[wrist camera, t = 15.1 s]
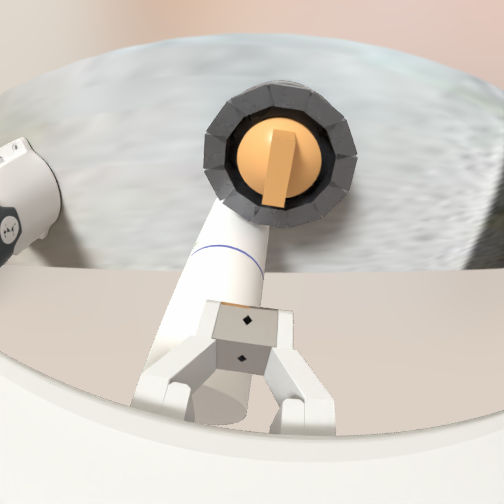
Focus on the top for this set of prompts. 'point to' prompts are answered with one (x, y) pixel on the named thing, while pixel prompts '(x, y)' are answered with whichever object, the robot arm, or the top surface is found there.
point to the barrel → (297, 107)
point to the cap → (279, 158)
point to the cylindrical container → (219, 289)
